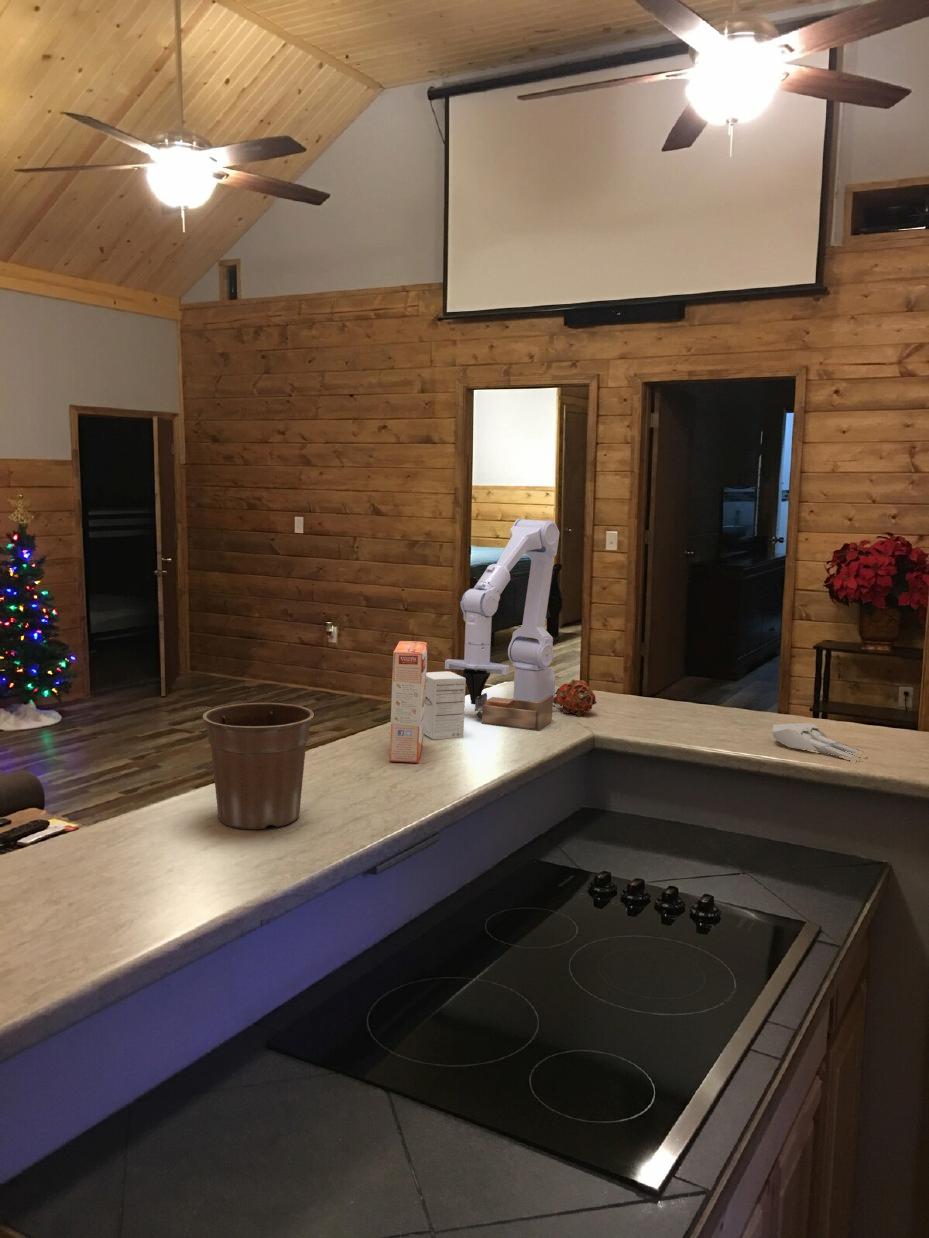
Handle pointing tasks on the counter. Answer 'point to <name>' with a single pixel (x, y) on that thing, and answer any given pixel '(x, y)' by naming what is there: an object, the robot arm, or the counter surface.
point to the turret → (810, 739)
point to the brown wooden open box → (520, 714)
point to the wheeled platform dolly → (492, 703)
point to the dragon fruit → (575, 697)
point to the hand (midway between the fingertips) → (475, 703)
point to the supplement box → (444, 705)
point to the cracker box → (408, 701)
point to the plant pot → (258, 762)
